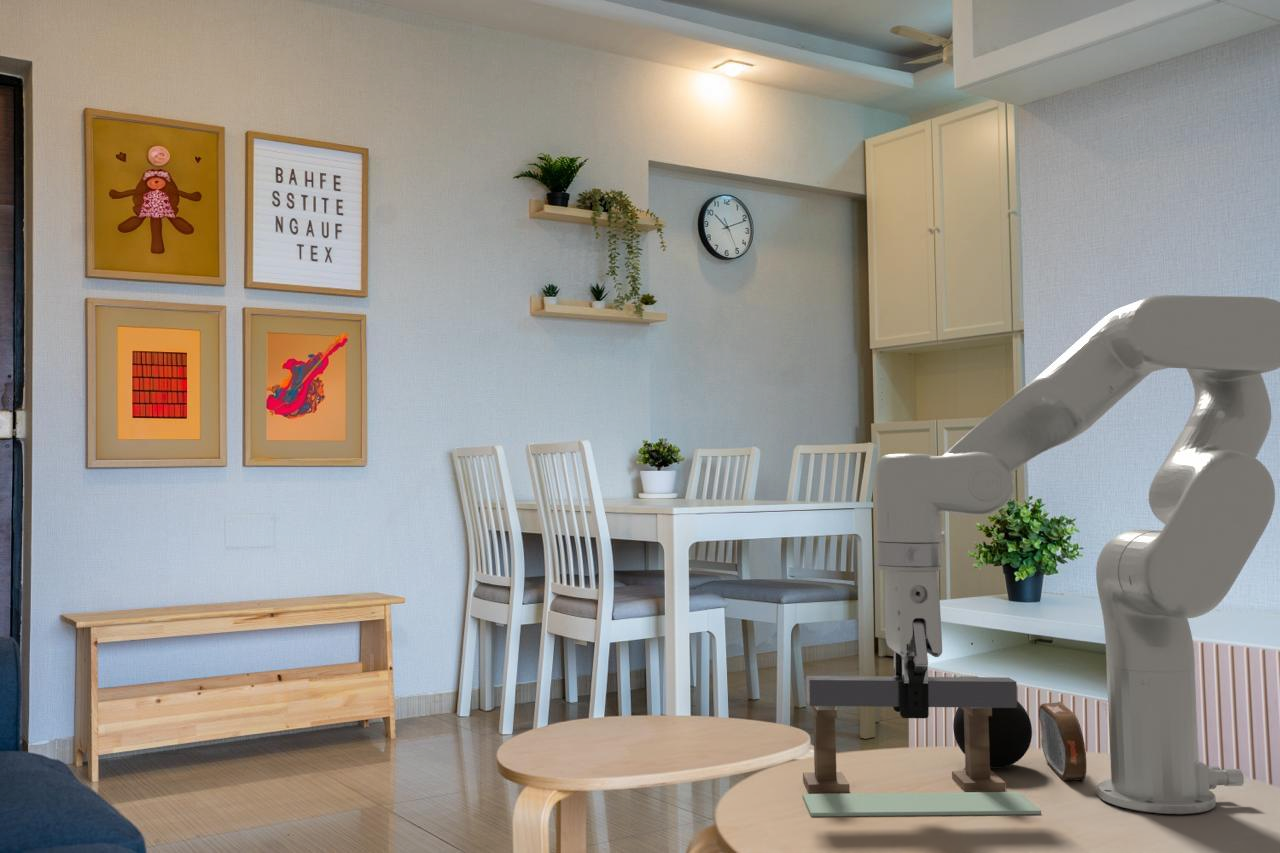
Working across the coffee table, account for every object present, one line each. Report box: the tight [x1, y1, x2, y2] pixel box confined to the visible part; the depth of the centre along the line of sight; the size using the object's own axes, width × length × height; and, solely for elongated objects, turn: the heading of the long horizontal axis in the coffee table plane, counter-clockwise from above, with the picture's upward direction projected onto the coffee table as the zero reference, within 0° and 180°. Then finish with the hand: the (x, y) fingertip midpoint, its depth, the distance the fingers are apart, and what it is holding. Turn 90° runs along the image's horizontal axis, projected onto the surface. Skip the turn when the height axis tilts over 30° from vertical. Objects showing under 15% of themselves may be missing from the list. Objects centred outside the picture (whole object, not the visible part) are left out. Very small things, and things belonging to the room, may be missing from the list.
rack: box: [802, 675, 1007, 794], centre depth 140 cm, size 24×6×13 cm, turn 89°
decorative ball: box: [952, 700, 1033, 769], centre depth 149 cm, size 10×10×10 cm
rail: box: [805, 675, 1018, 708], centre depth 131 cm, size 24×3×3 cm, turn 89°
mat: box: [802, 791, 1042, 817], centre depth 131 cm, size 26×8×1 cm, turn 89°
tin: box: [1038, 701, 1087, 781], centre depth 145 cm, size 15×3×8 cm, turn 172°
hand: (910, 713), depth 131 cm, fingers closed on rail, 3 cm apart
